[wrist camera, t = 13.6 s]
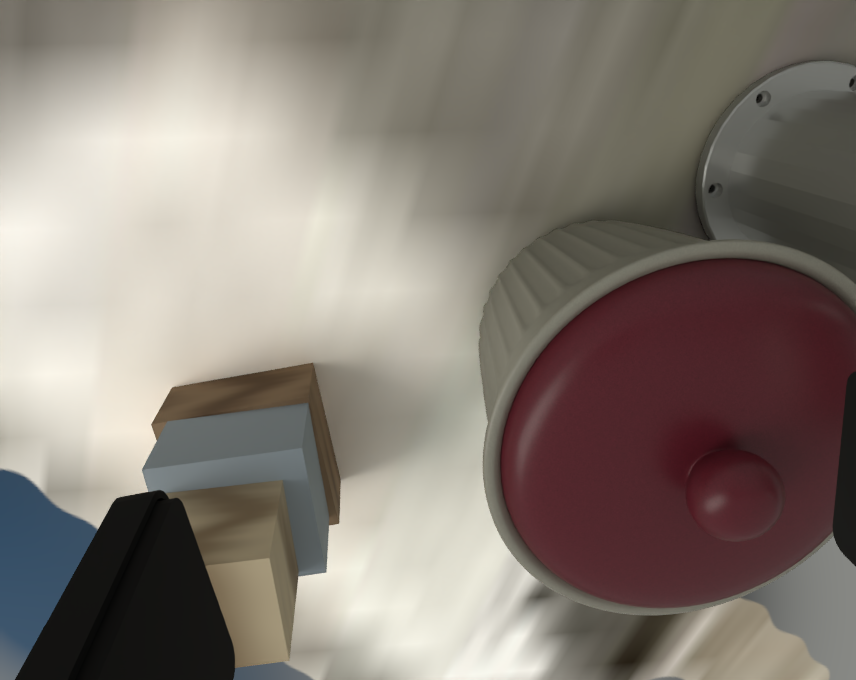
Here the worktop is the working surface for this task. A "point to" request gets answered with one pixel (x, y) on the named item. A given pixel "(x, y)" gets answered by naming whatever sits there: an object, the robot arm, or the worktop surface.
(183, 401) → the tower base
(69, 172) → the worktop surface
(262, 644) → the oak cube
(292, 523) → the tower top
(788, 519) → the canister
